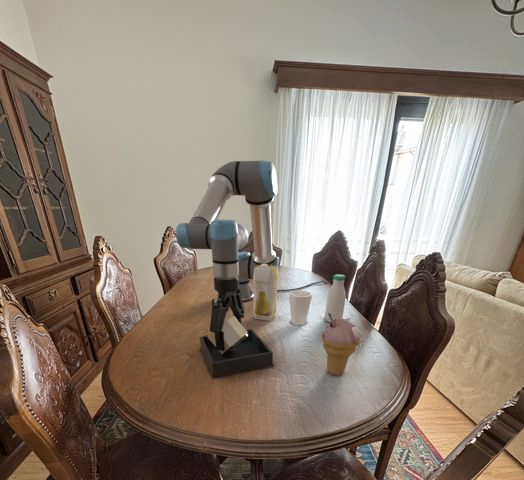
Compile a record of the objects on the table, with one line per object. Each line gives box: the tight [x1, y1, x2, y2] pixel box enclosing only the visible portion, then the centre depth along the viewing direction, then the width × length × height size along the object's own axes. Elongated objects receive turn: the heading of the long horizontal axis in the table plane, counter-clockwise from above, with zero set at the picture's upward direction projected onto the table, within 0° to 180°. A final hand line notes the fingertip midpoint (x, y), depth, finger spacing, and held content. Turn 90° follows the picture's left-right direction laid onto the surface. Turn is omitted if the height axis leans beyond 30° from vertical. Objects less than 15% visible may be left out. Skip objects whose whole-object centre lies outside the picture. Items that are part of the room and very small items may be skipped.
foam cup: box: [288, 289, 313, 326], centre depth 123 cm, size 10×9×13 cm
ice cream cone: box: [321, 313, 361, 377], centre depth 86 cm, size 11×11×20 cm
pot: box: [207, 315, 248, 356], centre depth 95 cm, size 8×11×11 cm
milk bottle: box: [324, 273, 347, 323], centre depth 124 cm, size 8×8×20 cm
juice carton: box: [252, 264, 278, 322], centre depth 124 cm, size 9×8×24 cm
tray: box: [199, 328, 274, 378], centre depth 97 cm, size 20×20×5 cm
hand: (229, 342), depth 96 cm, fingers closed on pot, 11 cm apart
